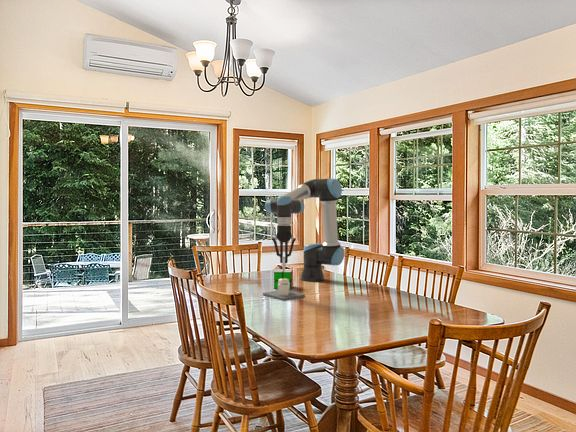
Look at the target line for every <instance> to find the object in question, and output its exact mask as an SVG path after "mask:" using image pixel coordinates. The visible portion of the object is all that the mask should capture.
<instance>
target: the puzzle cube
mask: <svg viewBox="0 0 576 432" xmlns="http://www.w3.org/2000/svg"><path fill="white" fill-rule="evenodd" d="M278 279H289V282H290V284H289V290H291V289H293V286H294V270H293V269H285V270H282V269H280V268H279V269H275V271H274V272H273V280H274V281H273V289H274V290H278Z"/></svg>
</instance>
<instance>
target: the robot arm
mask: <svg viewBox="0 0 576 432" xmlns="http://www.w3.org/2000/svg"><path fill="white" fill-rule="evenodd" d="M342 190H343V189H342V185H341V183H340V181H339V180H338V179H336V178H313V179H310V180H308V181H305V182H303V183H301V184H300V185H298V186H297V188H295V189H293V190H290V191H289V192H286V193H285V194H283V195H279V196H278V197H277V198H275V199H268V200H266V201H265V204H264V209H265V210H264V211H266V212H267V213H269V214H277V215H276V225H277V226H276V235H275V236H274V237H272V238H271V240H272V243H273V244H274V249H275V253H276V256H277V257H279V259H280V260H279V261H280V264H281V267H282V268H281V270H286V264H288V261H289V260H288V258H289V257H291V256H292V253H293V249H294V244H295V242H296V241H297V238H296V237H293V235H292V214H296V215H297V214H298V215H299V214H301V213H303V211H304V209H305V204H304V202H303V200H308V199H310V198H311V199H312V198H316V199H317V198H319V202H320V203H321V205H322V206H321V208H322V224H323V225H322V229H323V242H322V243H321V242H320V243H309V244H308V243H307V244H305V245H304V247H303V267H302V272H301V275H300V280H301V281H306V282H322V281H324V280H325V275H324V272H323V267H322V265H328V266H340V265H341V264H342V263H343V260H344V259H345V249H344V247H342V246H341V242H340V241H339V239H338V238H339V237H338V234H339V233H338V217H337V212H338V211H337V202H339V198H341V197H342V192H343V191H342ZM277 241H279V243H280V244H279V245H280V246H279V247H280V248H279V247H278V242H277ZM290 241H291V243H290V246H289V245H288V244H289V242H290ZM288 247H290V248H288ZM279 249H280V250H279ZM288 250H289V251H288ZM283 254H284V255H283Z"/></svg>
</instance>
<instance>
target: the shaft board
mask: <svg viewBox="0 0 576 432" xmlns="http://www.w3.org/2000/svg"><path fill="white" fill-rule="evenodd" d="M285 285H286V284H285ZM262 296H265V297H268V298H272V299H275V300H279V301H289V300H296V299H301V298H305V297H306V294H304V293H301V292H295V291H292V290H289V295H278V290H273V291H266V292H262Z"/></svg>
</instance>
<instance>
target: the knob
mask: <svg viewBox="0 0 576 432" xmlns="http://www.w3.org/2000/svg"><path fill="white" fill-rule="evenodd" d="M285 284H286V285H285ZM289 284H290V282H289V279H278V289H277V291H278V295H289V291H290V289H289Z"/></svg>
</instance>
